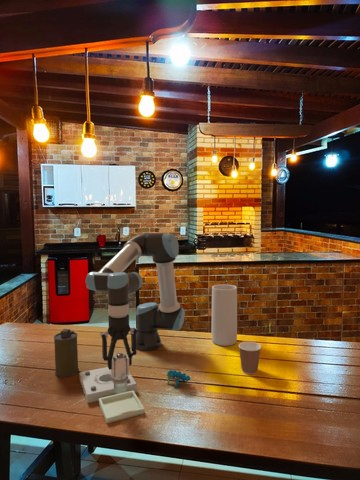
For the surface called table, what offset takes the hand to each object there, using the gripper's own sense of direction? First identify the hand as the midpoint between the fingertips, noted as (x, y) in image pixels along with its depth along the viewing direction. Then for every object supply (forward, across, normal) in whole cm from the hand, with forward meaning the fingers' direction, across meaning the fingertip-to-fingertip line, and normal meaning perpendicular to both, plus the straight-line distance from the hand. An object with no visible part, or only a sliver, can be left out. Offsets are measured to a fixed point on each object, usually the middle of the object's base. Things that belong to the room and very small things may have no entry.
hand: (120, 375), depth 128 cm
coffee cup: (+13, -62, -4) cm, 64 cm away
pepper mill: (+6, 0, 0) cm, 6 cm away
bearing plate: (+13, +1, -19) cm, 23 cm away
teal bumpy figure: (+13, -27, -8) cm, 31 cm away
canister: (+13, +15, -40) cm, 45 cm away
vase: (+13, -70, -39) cm, 81 cm away
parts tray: (+13, 0, 0) cm, 13 cm away
